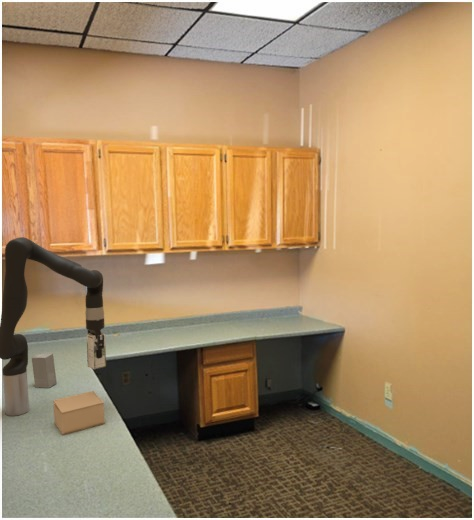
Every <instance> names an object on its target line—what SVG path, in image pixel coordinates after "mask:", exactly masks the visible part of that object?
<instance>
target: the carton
mask: <svg viewBox="0 0 474 520" xmlns="http://www.w3.org/2000/svg"><path fill="white" fill-rule="evenodd" d="M53 417H54V424H55V426H56V428H57V429H58V430H59V432H60V433H61V434H62V435H69V434H72V433H75V432H79V431H83V430H86V429H90V428H93V427H98V426H100V425H101V426H102V425H105V423H106V422H105V420H106V419H105V403H104V404H101V405H97V406H93V407H89V408H85V409H81V410H77V411H73V412H69V413H65V414H61V412H60V411H59V409H58V408H57V406H56V405H55V403H53Z"/></svg>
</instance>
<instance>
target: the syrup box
mask: <svg viewBox="0 0 474 520" xmlns="http://www.w3.org/2000/svg"><path fill="white" fill-rule="evenodd" d="M101 333H102V334H101V335H104V348H103V349H102V358H99V359H98V358H96V345H95V343H94V342H95V341H96V342H97V339H96V336H95V335H92V334H88V333H87V334H86V354H87V357H86V358H87V367H88V368H89V369H92V370H96V369H97V370H98V369H102V368H106V366H107V357H106V356H107V354H106V353H107V352H106V349H107V347H106V344H107V343H106V334H105V333H104V332H102V331H101ZM99 346H100V344H99Z"/></svg>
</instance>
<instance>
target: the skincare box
mask: <svg viewBox="0 0 474 520" xmlns="http://www.w3.org/2000/svg"><path fill="white" fill-rule="evenodd" d="M31 363H32V364H31V365H32V372H33V379H34V387H35V388H39V387H40V389H42V388H43V389H45V388H46V389H49V388H51V387H53V386H55V385H57V374H56V367H55V366H56V365H55V359H54V353H38V354H36V355H33V356H32V357H31Z"/></svg>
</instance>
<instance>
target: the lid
mask: <svg viewBox="0 0 474 520" xmlns="http://www.w3.org/2000/svg"><path fill="white" fill-rule="evenodd" d="M52 401H53V404H55V405H56V406H57V408H58V409H59V411H60V412H61V414H65V413H69V412H73V411H77V410H81V409H85V408H89V407H93V406H97V405H101V404H104V405H105V402H104V401H103V400H102V399H101V398H100V396H98V394H97V393H96V392H95V391H94V390H91V391H88V392H87V391H86V392H82V393H80V394H79V393H78V394H75V395H74V394H73V395H69V396H66V397H60V398H57V399H53V400H52Z"/></svg>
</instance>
